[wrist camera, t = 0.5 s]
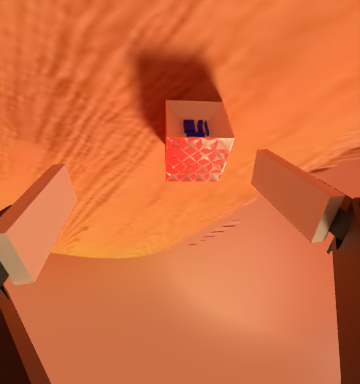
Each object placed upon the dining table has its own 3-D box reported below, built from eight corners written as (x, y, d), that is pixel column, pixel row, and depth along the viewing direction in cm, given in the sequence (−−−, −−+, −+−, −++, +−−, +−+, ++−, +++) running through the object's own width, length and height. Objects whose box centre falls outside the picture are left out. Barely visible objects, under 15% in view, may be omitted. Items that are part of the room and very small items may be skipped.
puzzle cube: (164, 144, 34) (165, 181, 29) (165, 99, 27) (166, 137, 23) (211, 145, 35) (220, 181, 30) (222, 101, 28) (235, 138, 24)
